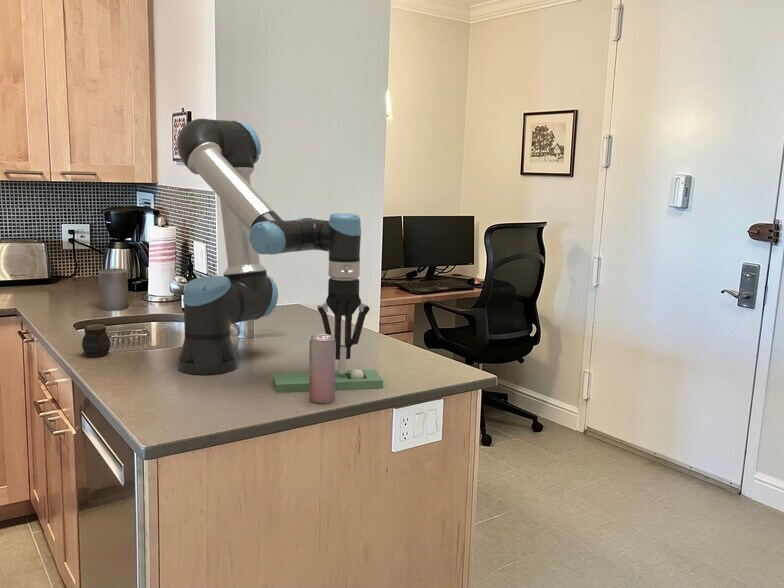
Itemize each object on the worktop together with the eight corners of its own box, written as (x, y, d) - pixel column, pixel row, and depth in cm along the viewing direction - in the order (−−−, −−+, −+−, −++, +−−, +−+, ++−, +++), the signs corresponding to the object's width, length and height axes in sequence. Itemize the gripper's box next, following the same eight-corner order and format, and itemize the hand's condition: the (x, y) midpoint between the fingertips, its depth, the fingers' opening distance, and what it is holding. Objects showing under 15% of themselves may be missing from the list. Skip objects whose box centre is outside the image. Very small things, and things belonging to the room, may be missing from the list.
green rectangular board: (276, 392, 166) (276, 384, 166) (273, 381, 175) (273, 373, 174) (382, 388, 172) (383, 380, 172) (375, 377, 181) (375, 369, 180)
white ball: (363, 365, 176) (366, 374, 174) (361, 377, 178) (364, 385, 175) (349, 366, 175) (352, 374, 173) (348, 377, 177) (350, 386, 174)
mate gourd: (116, 355, 192) (114, 320, 190) (88, 360, 187) (86, 324, 185) (104, 349, 197) (102, 315, 195) (76, 355, 192) (74, 319, 190)
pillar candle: (118, 304, 258) (116, 263, 255) (134, 307, 252) (132, 266, 249) (94, 308, 250) (91, 266, 247) (110, 312, 245) (107, 269, 242)
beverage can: (309, 395, 165) (310, 333, 162) (334, 395, 165) (335, 334, 163) (308, 404, 159) (309, 340, 156) (334, 404, 159) (336, 340, 157)
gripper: (319, 280, 164) (317, 377, 168) (373, 280, 167) (370, 375, 172) (315, 275, 171) (313, 368, 176) (367, 275, 174) (364, 366, 179)
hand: (342, 371), depth 174 cm, fingers closed
